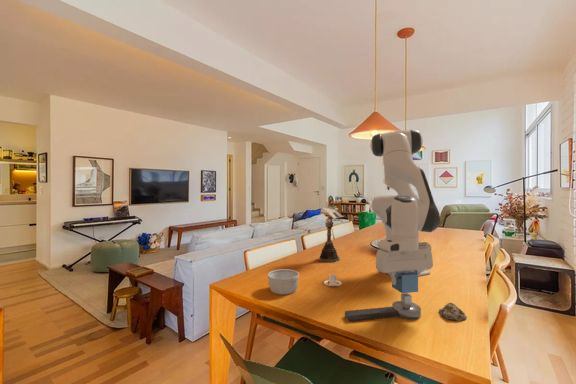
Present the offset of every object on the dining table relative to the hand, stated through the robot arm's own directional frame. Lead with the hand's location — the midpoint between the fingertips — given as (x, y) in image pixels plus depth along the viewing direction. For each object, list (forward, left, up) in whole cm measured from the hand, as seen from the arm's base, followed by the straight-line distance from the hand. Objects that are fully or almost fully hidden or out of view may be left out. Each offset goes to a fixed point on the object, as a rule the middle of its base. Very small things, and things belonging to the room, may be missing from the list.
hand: (404, 283), depth 95 cm
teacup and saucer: (+17, -32, -11) cm, 38 cm away
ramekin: (+37, -30, -10) cm, 49 cm away
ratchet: (+8, 0, -10) cm, 13 cm away
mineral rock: (-15, +5, -11) cm, 19 cm away
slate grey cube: (0, 0, -2) cm, 2 cm away
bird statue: (-1, -69, -10) cm, 70 cm away
